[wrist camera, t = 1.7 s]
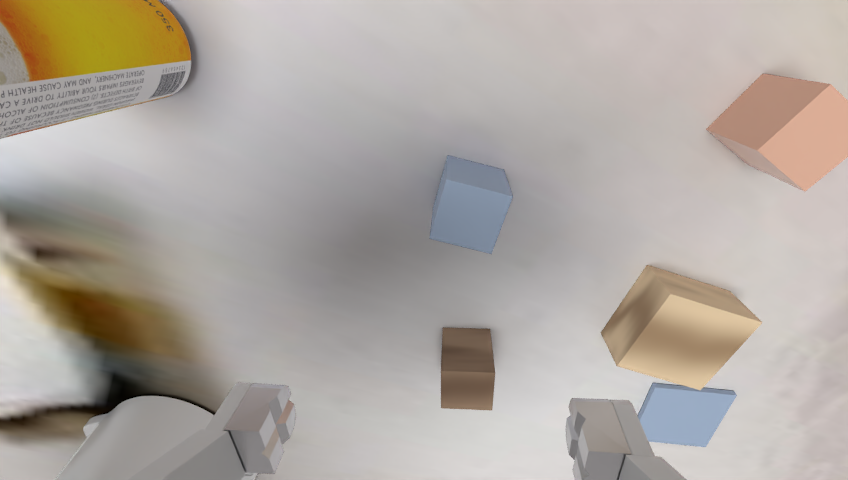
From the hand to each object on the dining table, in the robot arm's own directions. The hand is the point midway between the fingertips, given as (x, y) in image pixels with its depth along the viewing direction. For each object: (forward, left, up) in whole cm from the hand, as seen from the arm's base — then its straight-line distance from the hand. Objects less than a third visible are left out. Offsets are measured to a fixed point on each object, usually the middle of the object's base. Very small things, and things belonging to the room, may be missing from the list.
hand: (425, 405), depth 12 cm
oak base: (-6, -20, -19) cm, 28 cm away
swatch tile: (-16, -27, -19) cm, 37 cm away
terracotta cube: (+9, -18, -19) cm, 28 cm away
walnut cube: (-14, -6, -19) cm, 25 cm away
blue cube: (0, -2, -19) cm, 19 cm away
